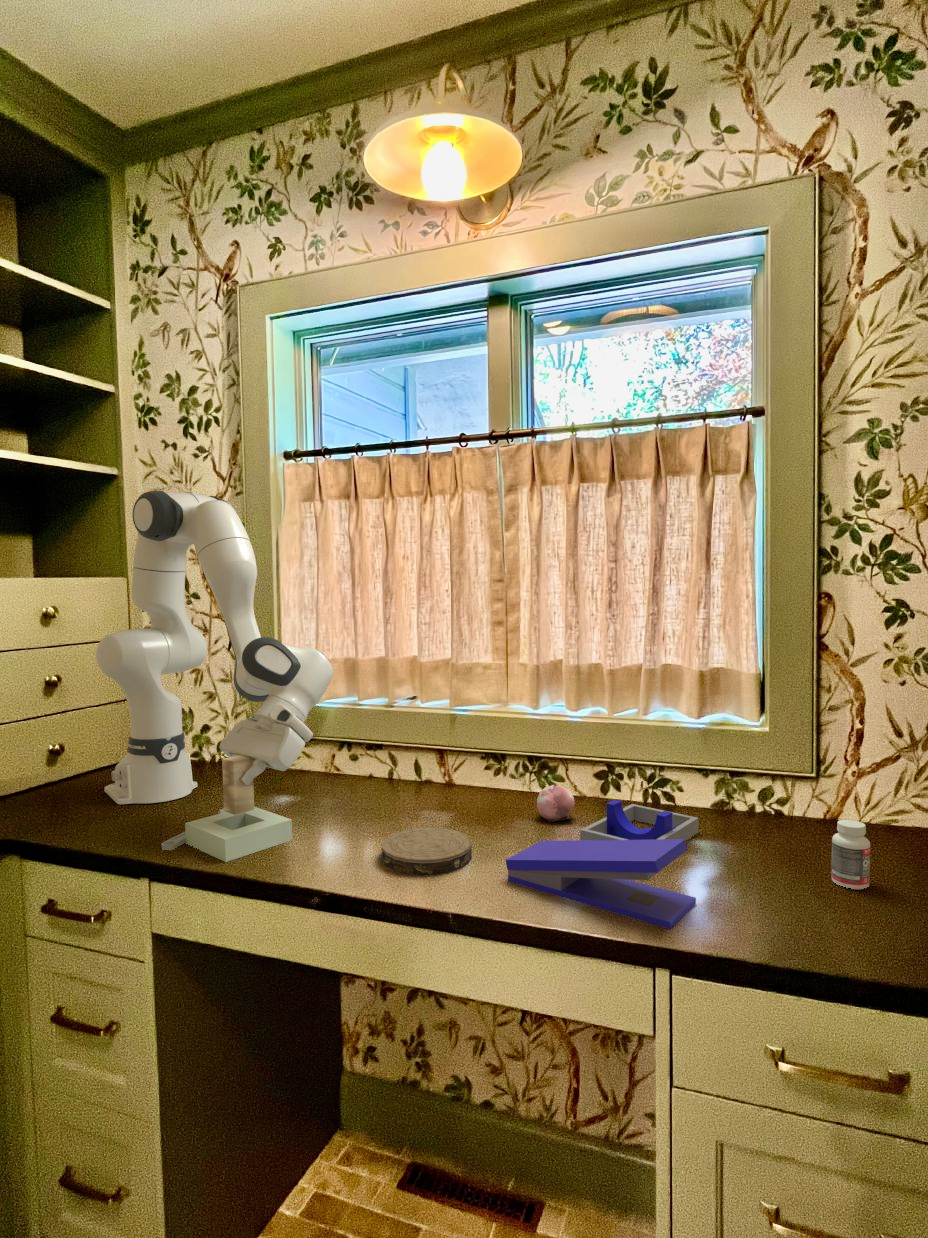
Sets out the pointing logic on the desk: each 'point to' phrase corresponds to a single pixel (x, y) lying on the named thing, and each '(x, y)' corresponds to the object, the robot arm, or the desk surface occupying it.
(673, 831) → the clip corral
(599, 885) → the stapler
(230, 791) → the wooden block
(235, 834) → the pale green square frame
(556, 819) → the onion
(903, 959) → the desk surface
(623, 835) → the blue cradle holder
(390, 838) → the wood slice
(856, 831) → the pill bottle
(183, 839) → the adjustable wrench
